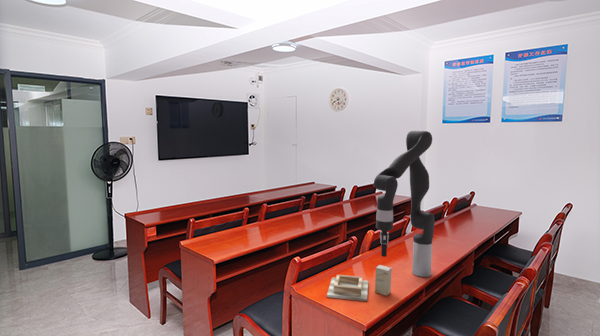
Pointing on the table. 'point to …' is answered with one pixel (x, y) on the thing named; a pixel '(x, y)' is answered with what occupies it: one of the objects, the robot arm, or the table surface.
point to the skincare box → (383, 280)
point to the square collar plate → (348, 288)
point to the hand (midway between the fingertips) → (383, 253)
